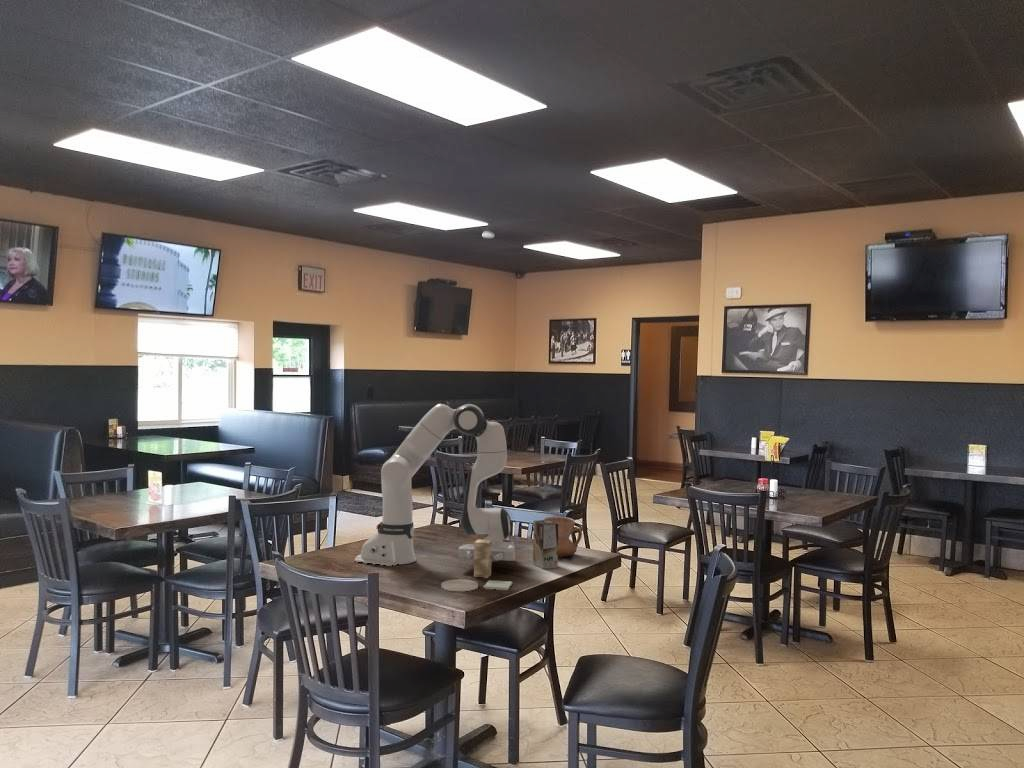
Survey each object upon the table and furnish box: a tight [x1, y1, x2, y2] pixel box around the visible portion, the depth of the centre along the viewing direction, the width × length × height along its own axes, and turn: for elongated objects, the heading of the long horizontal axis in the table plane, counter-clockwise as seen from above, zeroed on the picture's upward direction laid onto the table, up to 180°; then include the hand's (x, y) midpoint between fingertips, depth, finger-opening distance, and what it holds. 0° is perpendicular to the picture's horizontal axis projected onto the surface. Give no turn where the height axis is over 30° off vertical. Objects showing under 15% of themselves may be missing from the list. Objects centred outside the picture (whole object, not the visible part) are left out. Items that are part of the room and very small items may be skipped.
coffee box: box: [532, 519, 559, 570], centre depth 279 cm, size 9×6×16 cm
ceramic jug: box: [542, 516, 583, 558], centre depth 296 cm, size 18×14×14 cm
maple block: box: [473, 539, 492, 579], centre depth 263 cm, size 5×5×12 cm
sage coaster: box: [483, 579, 513, 591], centre depth 250 cm, size 8×8×1 cm
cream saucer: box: [440, 578, 479, 592], centre depth 248 cm, size 12×12×1 cm
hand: (482, 557), depth 263 cm, fingers open, 8 cm apart
